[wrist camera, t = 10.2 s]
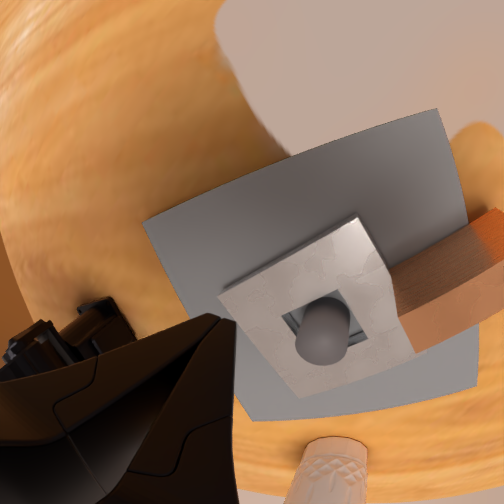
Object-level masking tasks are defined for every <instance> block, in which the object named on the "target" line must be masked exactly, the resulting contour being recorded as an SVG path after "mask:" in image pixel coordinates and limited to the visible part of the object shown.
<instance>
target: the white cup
mask: <svg viewBox="0 0 504 504" xmlns="http://www.w3.org/2000/svg"><path fill="white" fill-rule="evenodd" d="M367 459H368V452H367V448H366V447H365V446H364V445H363V444H362V443H361V442H358V441H355V440H353V439H350V438H344V437H326V438H319V439H317V440H315V441H313V442H310V443H309V444H308V445H307V447H306V449H305V450H304V453H303V456H302V459H301V462H300V465H299V466H298V468H297V470H296V473H295V476H294V478H293V481H292V483H291V486H290V488H289V490H288V493H287V496H286V498H285V501H284V504H366V491H367V477H368V473H367Z"/></svg>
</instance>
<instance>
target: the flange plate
mask: <svg viewBox="0 0 504 504" xmlns="http://www.w3.org/2000/svg"><path fill="white" fill-rule="evenodd" d="M336 289H338V290H339V292H340V293H341V295H342V297H343V298H344V300H345V301H346V303H347V305H348V306H349V308H350V309H351V311H352V313H353V314H354V316H355V318H356V319H357V321H358V323H359V324H360V326H361V327H362V329H363V331H364V332H362V333H359V334H357V335H355V336H352V337H350V338H349V339H348V348H347V352H346V354H345V356H344V357H343V358H342V359H341V360H340V361H339V362H337V363H335V364H332V365H327V366H319V365H314V364H311V363H309V362H307V361H305V360H304V359H303V358H301V357H300V355H299V354H298V353H297V351H296V347H295V340H296V337H297V334H298V331H299V327H298V326H297V324H296V323H295V321H294V320H293V319H292V317H291V316H290V314H289V313H288V312H290V311H292V310H295V309H297V308H299V307H301V306H303V305H305V304H307V303H310V302H312V301H314V300H316V299H318V298H320V297H322V296H324V295H326V294H328V293H330V292H332V291H334V290H336ZM217 298H218V299H219V300H220V301H221V303H222V304H223V305H224V307H225V308H226V309H227V311H228V312H229V313H230V314H231V316H232V317H233V318H234V320H235V321H236V322H237V323H238V325H239V326H240V327H241V329H242V330H243V331H244V332H245V334H246V335H247V336H248V337H249V339H250V340H251V341H252V342H253V344H254V345H255V346H256V347H257V349H258V350H259V351H260V352H261V354H262V355H263V356H264V357H265V359H266V360H267V361H268V362H269V363H270V365H271V366H272V367H273V368H274V370H275V371H276V372H277V373H278V374H279V376H280V377H281V378H282V379H283V380H284V382H285V383H286V384H287V385H288V386H289V388H290V389H291V390H292V391H293V392H294V394H295V395H296V396H297V397H298V398H299V399H300V398H304V397H307V396H311V395H314V394H318V393H321V392H324V391H328V390H331V389H334V388H337V387H340V386H343V385H346V384H349V383H352V382H355V381H358V380H361V379H364V378H366V377H369V376H372V375H375V374H377V373H380V372H383V371H385V370H388V369H390V368H393V367H395V366H398V365H400V364H403V363H405V362H407V361H410V360H412V359H414V358H417V357H419V356H421V355H424V354H426V353H428V351H427V349H428V348H430V347H432V346H434V345H436V344H439V343H441V342H443V341H445V340H447V339H449V338H451V337H453V336H455V335H457V334H459V333H461V332H463V331H465V330H466V329H468V328H470V327H472V326H474V325H476V324H478V323H479V322H481V321H483V320H485V319H487V318H488V317H490V316H492V315H494V314H495V313H497V312H499V311H500V310H502V309H504V213H503V212H502V211H500V210H499V209H497V208H496V207H495V208H494V209H492V210H491V211H489V212H487V213H486V214H484V215H483V216H481V217H479V218H478V219H476V220H475V221H473V222H471V223H470V224H468V225H466V226H465V227H463V228H461V229H460V230H458V231H456V232H455V233H453V234H451V235H450V236H448V237H446V238H444V239H443V240H441V241H439V242H437V243H436V244H434V245H432V246H430V247H429V248H427V249H425V250H423V251H422V252H420V253H418V254H416V255H414V256H412V257H411V258H409V259H407V260H405V261H403V262H401V263H400V264H398V265H396V266H394V267H392V268H390V269H389V267H388V265H387V263H386V261H385V260H384V258H383V256H382V254H381V252H380V251H379V249H378V247H377V245H376V244H375V242H374V240H373V238H372V237H371V235H370V233H369V231H368V230H367V228H366V226H365V225H364V223H363V221H362V220H361V218H360V216H359V215H358V213H356V214H354V215H353V216H351V217H349V218H347V219H346V220H344V221H342V222H340V223H339V224H337V225H335V226H334V227H332V228H330V229H328V230H327V231H325V232H323V233H321V234H320V235H318V236H316V237H315V238H313V239H311V240H309V241H308V242H306V243H304V244H302V245H301V246H299V247H297V248H295V249H294V250H292V251H290V252H288V253H287V254H285V255H283V256H281V257H280V258H278V259H276V260H274V261H272V262H271V263H269V264H267V265H265V266H264V267H262V268H260V269H258V270H257V271H255V272H253V273H251V274H249V275H248V276H246V277H244V278H242V279H240V280H239V281H237V282H235V283H233V284H232V285H230V286H228V287H226V288H224V289H223V290H222V291H221V292H220V293H219V295H218V296H217Z"/></svg>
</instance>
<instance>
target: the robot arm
mask: <svg viewBox="0 0 504 504" xmlns="http://www.w3.org/2000/svg"><path fill="white" fill-rule="evenodd" d="M77 311H78V313H79V315H80V316H79V317H78V318H76V319H75V320H74V321H73V322H71V323H70V324H69V325H67V326H66V327H65V328H64V329H62V330H61V331H60V332H59V333H58V332H57V330H56V329H55V327H54V326H53V325H54V324H53V323H52V321H51V320H49V321H48V322H45V321H43V320H42V319H40V320H39V321H37V322H36V323H35V324H33V325H32V326H31V327H29V328H28V329H26V330H24V331H23V332H21V333H19V334H18V335H16V336H14V337H13V338H11V339H10V340H9V342H8V349H7V350H6V353H5V354H4V356H3V357H2V359H3V361H4V362H5V364H6V365H4V366H3V367H2V368H1V369H0V504H239V498H238V492H237V485H236V479H235V472H234V462H233V451H232V428H233V418H232V417H233V403H234V382H235V362H236V343H237V322H236V321H234V320H230V319H227V318H221V316H218V315H215V314H212V313H204V314H202V315H199V316H197V317H195V318H192V319H190V320H187V321H185V322H182V323H180V324H178V325H175V326H173V327H170V328H168V329H165V330H163V331H160V332H158V333H155V334H153V335H150V336H148V337H145V338H143V339H140V340H138V341H136V339H135V338H134V336H133V334H132V333H131V331H130V329H129V328H128V326H127V324H126V323H125V321H124V319H123V318H122V316H121V314H120V312H119V311H118V309H117V307H116V305H115V304H114V302H113V300H112V299H111V298H110V297H106V298H103V299H100V300H97V301H93V302H90V303H87V304H83V305H80V306H79V307H77ZM37 340H38V341H37Z"/></svg>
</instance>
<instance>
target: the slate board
mask: <svg viewBox="0 0 504 504" xmlns="http://www.w3.org/2000/svg"><path fill="white" fill-rule="evenodd" d="M356 213H358V215H359V216H360V218H361V220H362V221H363V223H364V225H365V226H366V228H367V230H368V231H369V233H370V235H371V237H372V238H373V240H374V242H375V244H376V245H377V247H378V249H379V251H380V252H381V254H382V256H383V258H384V260H385V261H386V263H387V265H388V267H389V269H390V268H392V267H394V266H396V265H398V264H400V263H401V262H403V261H405V260H407V259H409V258H411V257H412V256H414V255H416V254H418V253H420V252H422V251H423V250H425V249H427V248H429V247H430V246H432V245H434V244H436V243H437V242H439V241H441V240H443V239H444V238H446V237H448V236H450V235H451V234H453V233H455V232H456V231H458V230H460V229H461V228H463V227H465V226H466V225H468V224H469V222H468V217H467V211H466V206H465V202H464V197H463V193H462V188H461V184H460V180H459V176H458V172H457V169H456V165H455V161H454V158H453V154H452V151H451V148H450V145H449V141H448V138H447V135H446V132H445V129H444V126H443V123H442V121H441V118H440V115H439V112H438V110H437V108H436V109H432V110H428V111H425V112H422V113H418V114H414V115H411V116H408V117H404V118H401V119H398V120H395V121H391V122H388V123H385V124H382V125H379V126H376V127H373V128H370V129H367V130H364V131H361V132H358V133H355V134H352V135H349V136H346V137H344V138H340V139H338V140H335V141H332V142H329V143H326V144H324V145H321V146H318V147H316V148H313V149H310V150H307V151H305V152H302V153H299V154H297V155H294V156H292V157H289V158H286V159H284V160H281V161H279V162H276V163H274V164H271V165H269V166H266V167H264V168H261V169H259V170H256V171H254V172H252V173H249V174H247V175H244V176H242V177H240V178H237V179H235V180H233V181H230V182H228V183H226V184H223V185H221V186H219V187H217V188H214V189H212V190H210V191H208V192H205V193H203V194H201V195H199V196H196V197H194V198H192V199H190V200H188V201H186V202H183V203H181V204H179V205H177V206H175V207H173V208H171V209H168V210H166V211H164V212H162V213H160V214H158V215H156V216H154V217H152V218H150V219H148V220H146V221H144V222H142V225H143V227H144V229H145V231H146V233H147V235H148V237H149V239H150V242H151V244H152V246H153V248H154V250H155V252H156V254H157V256H158V258H159V260H160V262H161V264H162V266H163V268H164V270H165V272H166V274H167V276H168V278H169V280H170V282H171V284H172V286H173V287H174V289H175V291H176V293H177V295H178V297H179V299H180V301H181V303H182V304H183V306H184V308H185V310H186V312H187V314H188V315H189V317H190V319H192V318H195V317H197V316H199V315H202V314H204V313H212V314H215V315H218V316H221V318H227V319H230V320H234V318H233V317H232V316H231V314H230V313H229V312H228V311H227V309H226V308H225V307H224V305H223V304H222V303H221V301H220V300H219V299H218V298H217V296H218V295H219V293H220V292H221V291H222V290H223V289H224V288H226V287H228V286H230V285H232V284H233V283H235V282H237V281H239V280H240V279H242V278H244V277H246V276H248V275H249V274H251V273H253V272H255V271H257V270H258V269H260V268H262V267H264V266H265V265H267V264H269V263H271V262H272V261H274V260H276V259H278V258H280V257H281V256H283V255H285V254H287V253H288V252H290V251H292V250H294V249H295V248H297V247H299V246H301V245H302V244H304V243H306V242H308V241H309V240H311V239H313V238H315V237H316V236H318V235H320V234H321V233H323V232H325V231H327V230H328V229H330V228H332V227H334V226H335V225H337V224H339V223H340V222H342V221H344V220H346V219H347V218H349V217H351V216H353V215H354V214H356ZM288 313H289V314H290V316H291V317H292V319H293V320H294V321H295V323H296V324H297V326H298V327H299V331H298V334H297V337H296V340H295V347H296V351H297V353H298V354H299V355H300V357H301V358H303V359H304V360H305V361H307V362H309V363H311V364H314V365H319V366H327V365H332V364H335V363H337V362H339V361H340V360H341V359H342V358H343V357H344V356H345V354H346V352H347V348H348V339H349V338H350V337H352V336H355V335H357V334H359V333H362V332H364V331H363V329H362V327H361V326H360V324H359V323H358V321H357V319H356V318H355V316H354V314H353V313H352V311H351V309H350V308H349V306H348V305H347V303H346V301H345V300H344V298H343V297H342V295H341V293H340V292H339V290H338V289H336V290H334V291H332V292H330V293H328V294H326V295H324V296H322V297H320V298H318V299H316V300H314V301H312V302H310V303H307V304H305V305H303V306H301V307H299V308H297V309H295V310H292V311H290V312H288ZM234 321H235V320H234ZM427 351H428V353H426V354H424V355H421V356H419V357H417V358H414V359H412V360H410V361H407V362H405V363H403V364H400V365H398V366H395V367H393V368H390V369H388V370H385V371H383V372H380V373H377V374H375V375H372V376H369V377H366V378H364V379H361V380H358V381H355V382H352V383H349V384H346V385H343V386H340V387H337V388H334V389H331V390H328V391H324V392H321V393H318V394H314V395H311V396H307V397H304V398H300V399H299V398H298V397H297V396H296V395H295V394H294V392H293V391H292V390H291V389H290V388H289V386H288V385H287V384H286V383H285V382H284V380H283V379H282V378H281V377H280V376H279V374H278V373H277V372H276V371H275V370H274V368H273V367H272V366H271V365H270V363H269V362H268V361H267V360H266V359H265V357H264V356H263V355H262V354H261V352H260V351H259V350H258V349H257V347H256V346H255V345H254V344H253V342H252V341H251V340H250V339H249V337H248V336H247V335H246V334H245V332H244V331H243V330H242V329H241V327H240V326H239V325H238V323H237V343H236V362H235V382H234V394H235V395H236V397H237V398H238V400H239V402H240V403H241V405H242V406H243V408H244V409H245V411H246V412H247V414H248V415H249V417H250V418H251V420H252V421H282V420H299V419H312V418H323V417H333V416H341V415H349V414H357V413H363V412H370V411H376V410H382V409H387V408H393V407H398V406H403V405H408V404H412V403H417V402H421V401H425V400H429V399H433V398H437V397H441V396H445V395H449V394H452V393H456V392H459V391H463V390H466V389H469V388H472V387H475V386H477V376H478V357H479V323H478V324H476V325H474V326H472V327H470V328H468V329H466V330H465V331H463V332H461V333H459V334H457V335H455V336H453V337H451V338H449V339H447V340H445V341H443V342H441V343H439V344H436V345H434V346H432V347H430V348H428V349H427Z"/></svg>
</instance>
